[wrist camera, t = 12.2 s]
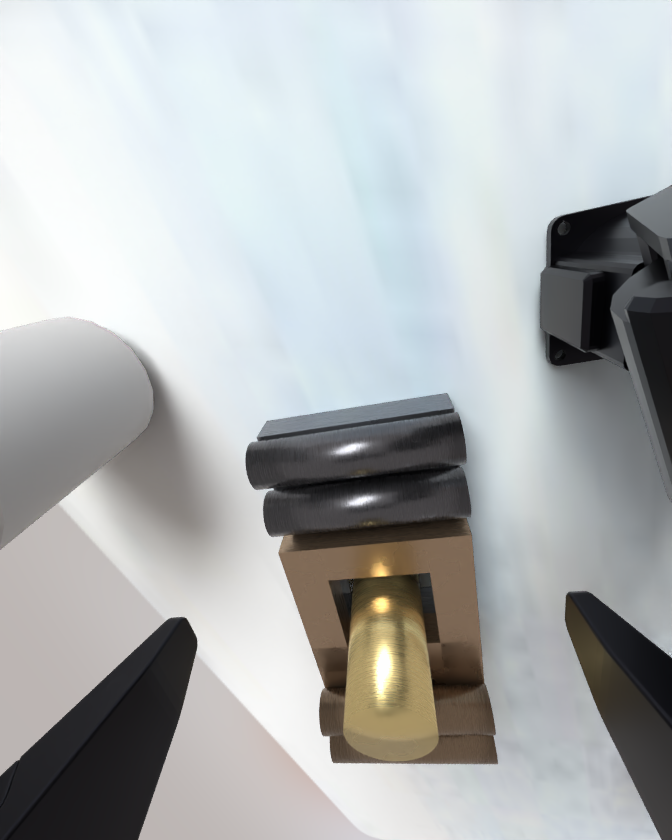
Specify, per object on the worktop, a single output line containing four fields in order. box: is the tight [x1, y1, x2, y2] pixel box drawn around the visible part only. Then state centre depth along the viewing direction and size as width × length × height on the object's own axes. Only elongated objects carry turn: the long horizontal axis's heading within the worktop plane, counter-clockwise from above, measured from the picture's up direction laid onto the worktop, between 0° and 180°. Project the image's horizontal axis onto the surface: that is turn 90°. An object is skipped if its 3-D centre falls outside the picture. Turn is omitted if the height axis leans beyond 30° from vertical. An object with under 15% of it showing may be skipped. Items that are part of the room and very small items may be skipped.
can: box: [0, 317, 154, 550], centre depth 16 cm, size 8×8×12 cm
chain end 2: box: [279, 518, 498, 764], centre depth 24 cm, size 10×16×6 cm, turn 12°
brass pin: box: [343, 574, 439, 761], centre depth 21 cm, size 4×4×10 cm
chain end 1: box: [246, 393, 471, 618], centre depth 22 cm, size 10×16×4 cm, turn 12°
